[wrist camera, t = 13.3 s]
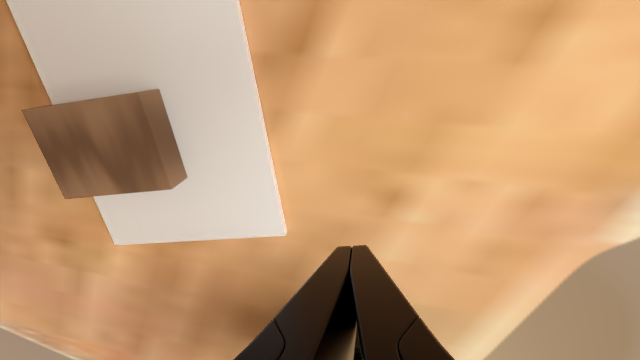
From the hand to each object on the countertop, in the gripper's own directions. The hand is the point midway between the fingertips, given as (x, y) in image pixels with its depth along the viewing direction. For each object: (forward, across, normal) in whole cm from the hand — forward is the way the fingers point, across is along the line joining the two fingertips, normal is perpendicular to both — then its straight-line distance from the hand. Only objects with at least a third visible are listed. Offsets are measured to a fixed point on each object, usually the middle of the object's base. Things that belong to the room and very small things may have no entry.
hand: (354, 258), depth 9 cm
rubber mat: (+12, +13, -3) cm, 18 cm away
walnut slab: (+10, +12, -2) cm, 16 cm away
